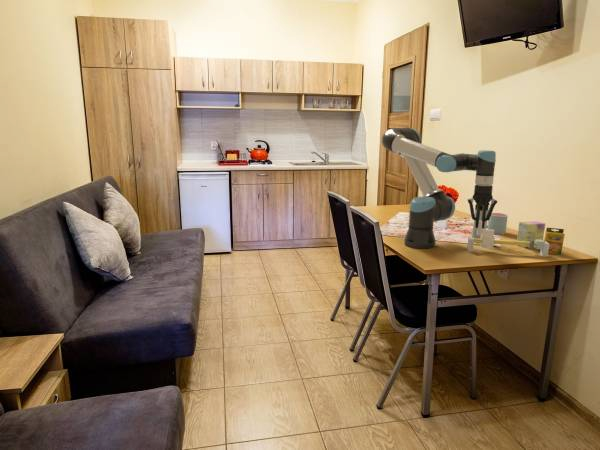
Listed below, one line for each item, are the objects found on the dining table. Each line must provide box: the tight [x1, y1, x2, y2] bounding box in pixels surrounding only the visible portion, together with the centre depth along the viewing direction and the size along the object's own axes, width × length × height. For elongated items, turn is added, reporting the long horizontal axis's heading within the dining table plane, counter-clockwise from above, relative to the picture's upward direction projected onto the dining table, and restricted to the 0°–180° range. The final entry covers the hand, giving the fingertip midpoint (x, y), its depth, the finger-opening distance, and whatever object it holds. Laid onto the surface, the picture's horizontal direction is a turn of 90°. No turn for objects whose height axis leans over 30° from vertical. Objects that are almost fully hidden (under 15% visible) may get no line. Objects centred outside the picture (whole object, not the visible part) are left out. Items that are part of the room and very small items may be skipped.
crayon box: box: [543, 227, 566, 255], centre depth 192 cm, size 7×3×12 cm, turn 70°
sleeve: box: [479, 228, 495, 249], centre depth 194 cm, size 5×5×8 cm
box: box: [516, 220, 546, 249], centre depth 203 cm, size 10×6×12 cm, turn 102°
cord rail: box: [466, 236, 549, 258], centre depth 193 cm, size 34×4×7 cm, turn 77°
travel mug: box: [471, 202, 491, 239], centre depth 210 cm, size 6×7×20 cm
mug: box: [486, 212, 509, 235], centre depth 230 cm, size 14×9×10 cm
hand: (478, 234), depth 194 cm, fingers closed
